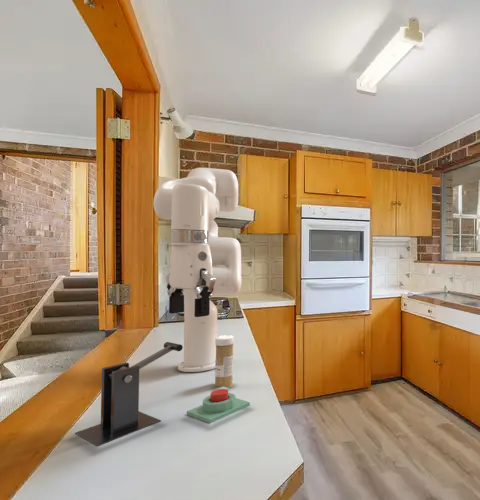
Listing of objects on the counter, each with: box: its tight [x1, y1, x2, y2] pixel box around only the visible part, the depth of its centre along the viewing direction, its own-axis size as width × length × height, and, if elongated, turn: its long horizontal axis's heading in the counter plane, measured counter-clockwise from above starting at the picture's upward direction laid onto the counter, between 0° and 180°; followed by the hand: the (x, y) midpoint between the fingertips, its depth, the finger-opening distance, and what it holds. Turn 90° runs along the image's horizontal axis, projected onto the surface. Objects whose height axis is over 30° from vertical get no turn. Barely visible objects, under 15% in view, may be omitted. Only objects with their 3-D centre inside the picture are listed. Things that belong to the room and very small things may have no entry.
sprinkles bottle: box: [214, 334, 235, 389], centre depth 93 cm, size 5×5×14 cm
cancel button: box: [209, 388, 229, 402], centre depth 77 cm, size 4×4×2 cm
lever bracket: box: [74, 362, 162, 447], centre depth 69 cm, size 11×9×13 cm
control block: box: [186, 392, 251, 424], centre depth 77 cm, size 10×8×4 cm
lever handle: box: [108, 341, 184, 383], centre depth 73 cm, size 13×5×2 cm, turn 151°
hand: (188, 314), depth 79 cm, fingers open, 9 cm apart
